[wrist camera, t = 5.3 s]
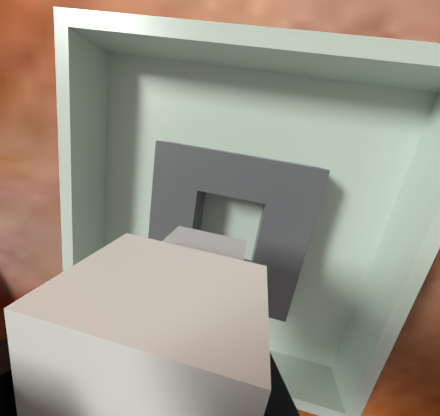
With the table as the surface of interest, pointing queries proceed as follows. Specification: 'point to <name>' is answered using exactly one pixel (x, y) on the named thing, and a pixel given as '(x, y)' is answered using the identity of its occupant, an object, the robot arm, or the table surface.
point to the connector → (146, 332)
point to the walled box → (263, 171)
